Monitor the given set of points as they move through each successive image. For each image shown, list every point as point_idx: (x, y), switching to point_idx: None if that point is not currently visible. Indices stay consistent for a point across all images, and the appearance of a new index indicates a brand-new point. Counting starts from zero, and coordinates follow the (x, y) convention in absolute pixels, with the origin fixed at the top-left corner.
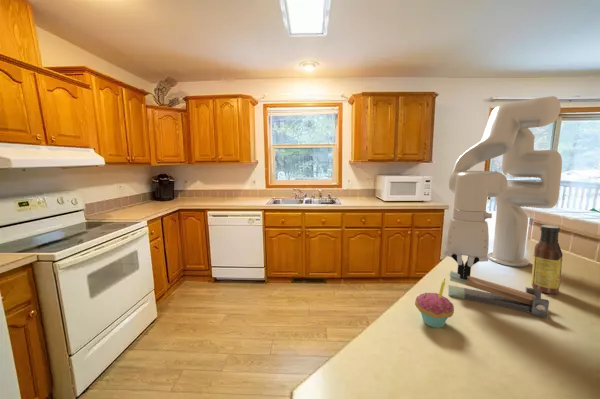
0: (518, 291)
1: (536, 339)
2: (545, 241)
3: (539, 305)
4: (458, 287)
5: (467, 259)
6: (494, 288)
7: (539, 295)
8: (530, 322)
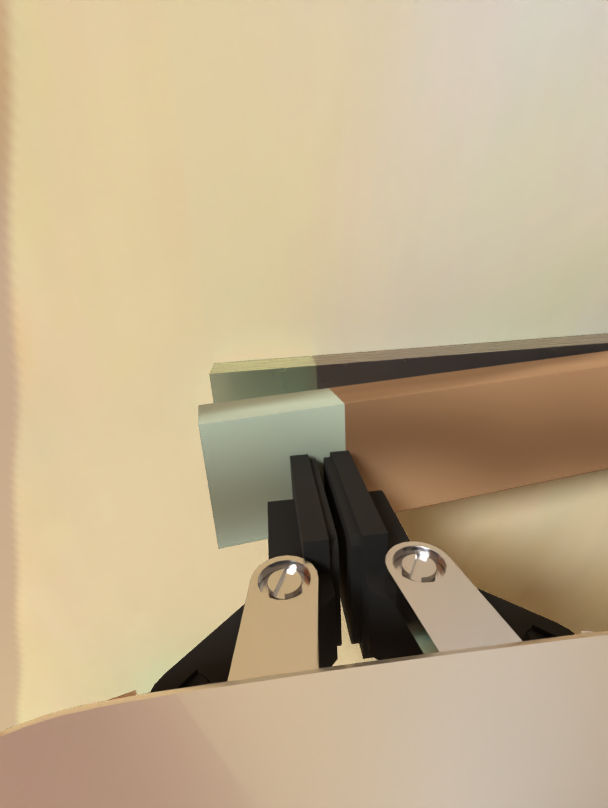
0: None
1: (547, 614)
2: None
3: None
4: (279, 377)
5: (402, 607)
6: (524, 483)
7: None
8: (579, 511)
